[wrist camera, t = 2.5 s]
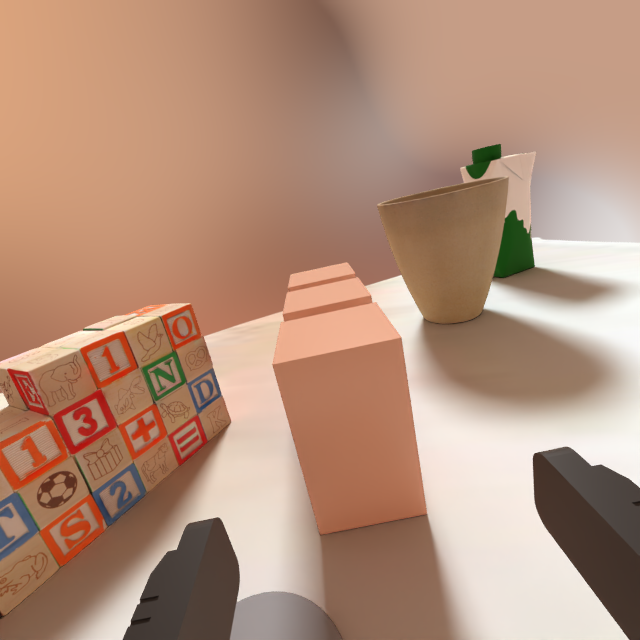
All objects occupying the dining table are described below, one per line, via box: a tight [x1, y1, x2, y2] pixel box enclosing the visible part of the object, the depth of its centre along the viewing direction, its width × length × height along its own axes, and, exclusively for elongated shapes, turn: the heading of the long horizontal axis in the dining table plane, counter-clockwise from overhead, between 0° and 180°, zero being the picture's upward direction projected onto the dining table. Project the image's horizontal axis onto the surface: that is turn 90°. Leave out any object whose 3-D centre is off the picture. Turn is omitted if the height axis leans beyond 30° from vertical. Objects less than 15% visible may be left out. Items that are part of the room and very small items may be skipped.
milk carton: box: [460, 144, 536, 278], centre depth 58 cm, size 9×9×20 cm
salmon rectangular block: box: [283, 277, 372, 322], centre depth 29 cm, size 6×6×11 cm
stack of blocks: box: [0, 303, 231, 617], centre depth 25 cm, size 21×6×12 cm, turn 149°
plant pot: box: [377, 176, 509, 324], centre depth 45 cm, size 15×15×16 cm
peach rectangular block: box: [288, 263, 356, 292], centre depth 36 cm, size 6×6×11 cm
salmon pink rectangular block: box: [272, 302, 427, 535], centre depth 21 cm, size 6×6×11 cm
